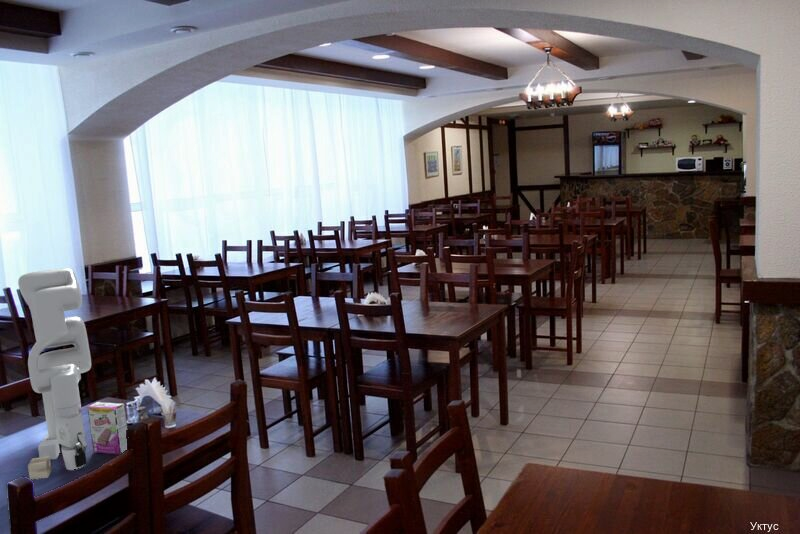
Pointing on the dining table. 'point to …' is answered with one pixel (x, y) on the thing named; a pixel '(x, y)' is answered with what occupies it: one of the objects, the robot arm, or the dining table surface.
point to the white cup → (70, 457)
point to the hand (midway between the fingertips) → (75, 462)
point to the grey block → (49, 449)
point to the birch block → (39, 467)
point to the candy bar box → (108, 427)
